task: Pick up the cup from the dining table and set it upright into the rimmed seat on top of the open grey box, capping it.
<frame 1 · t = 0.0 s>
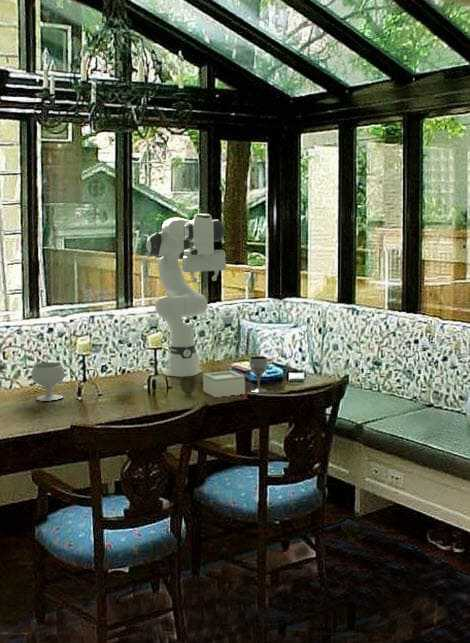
hand: (204, 281, 398), 48 cm above the table, fingers open, 8 cm apart
open grey box: (224, 392, 392), on the table
cup: (188, 396, 387), on the table
wine glass: (258, 391, 394), on the table
chalice: (49, 399, 386), on the table
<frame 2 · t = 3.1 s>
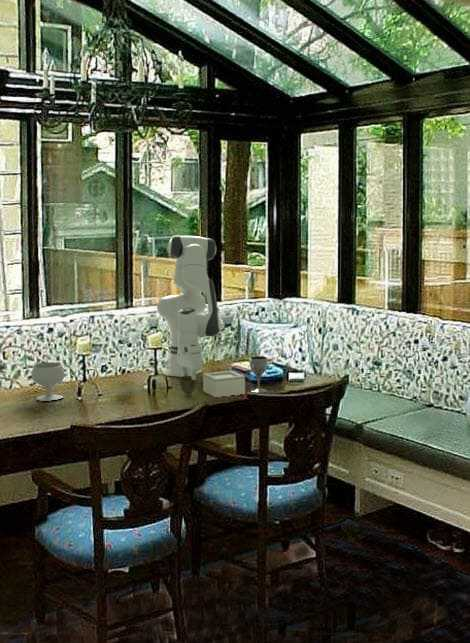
hand: (189, 377, 386), 8 cm above the table, fingers open, 8 cm apart
cup: (188, 396, 387), on the table, touching gripper
everything else where it was.
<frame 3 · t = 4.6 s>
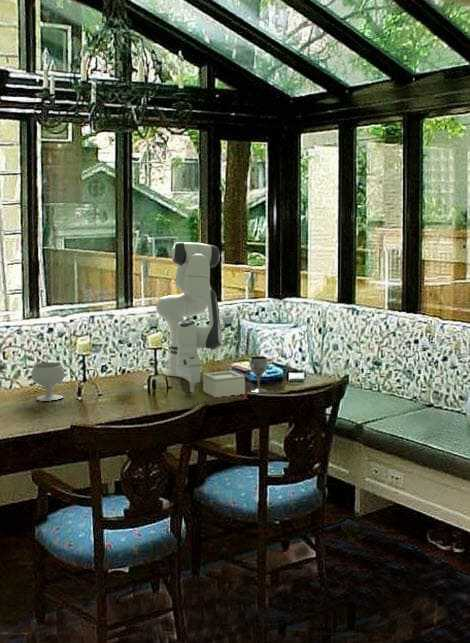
hand: (188, 389, 387), 3 cm above the table, fingers closed on cup, 7 cm apart
cup: (188, 396, 387), on the table, touching gripper
everything else where it was.
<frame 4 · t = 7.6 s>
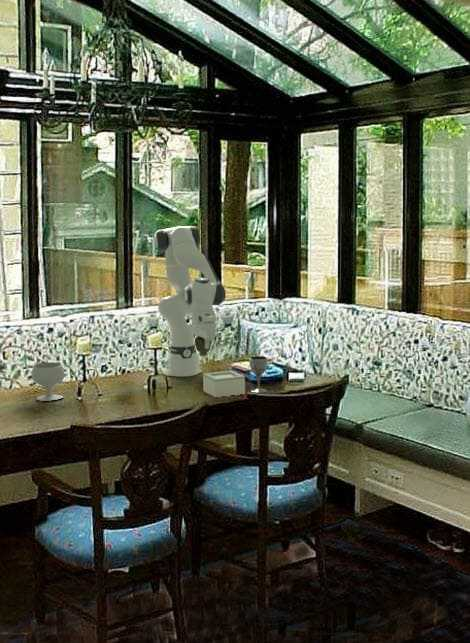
hand: (203, 347, 386), 21 cm above the table, fingers closed on cup, 6 cm apart
cup: (203, 356, 387), point 17 cm above the table, touching gripper
everything else where it was.
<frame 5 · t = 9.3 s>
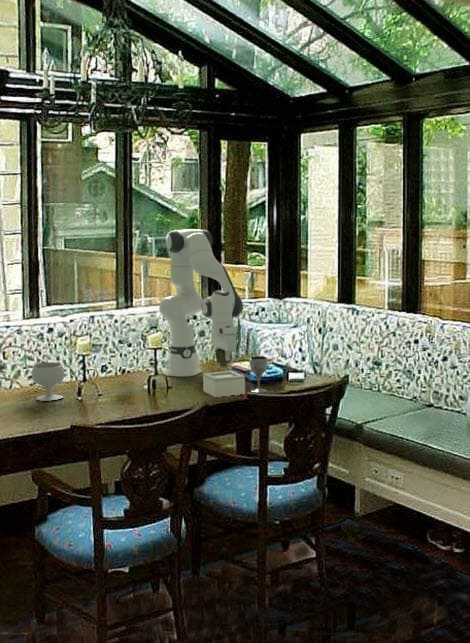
hand: (223, 359, 390), 15 cm above the table, fingers closed on cup, 7 cm apart
cup: (223, 367, 390), point 11 cm above the table, touching gripper
everything else where it was.
when the fingers open (12 cm above the table, at t = 10.9 s): cup drops 1 cm, resting on open grey box.
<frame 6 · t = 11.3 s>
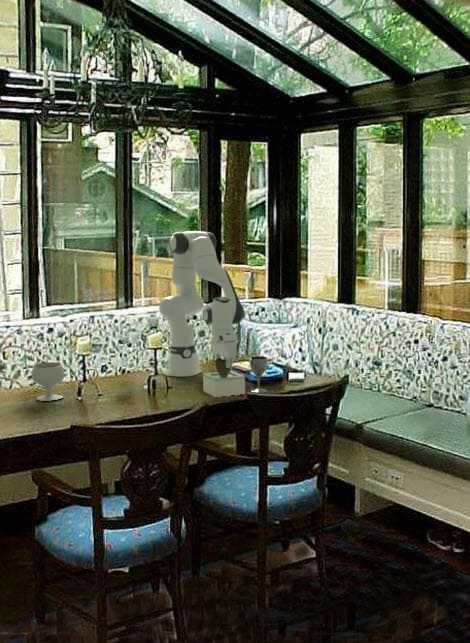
hand: (223, 365, 390), 12 cm above the table, fingers open, 8 cm apart
cup: (223, 377, 391), point 7 cm above the table, touching open grey box
everything else where it was.
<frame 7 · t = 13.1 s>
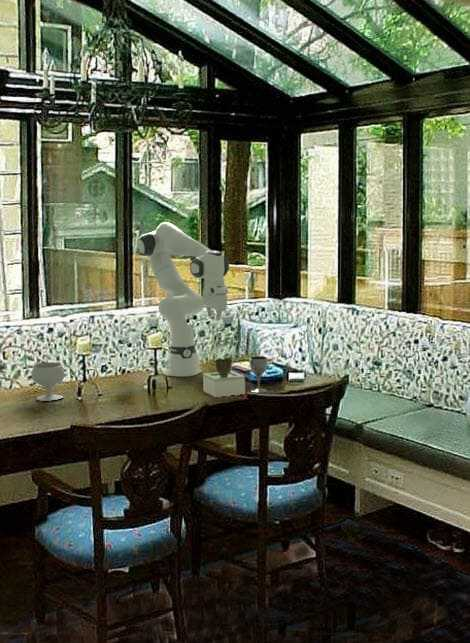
hand: (213, 318, 397), 32 cm above the table, fingers open, 8 cm apart
nothing on the table moved.
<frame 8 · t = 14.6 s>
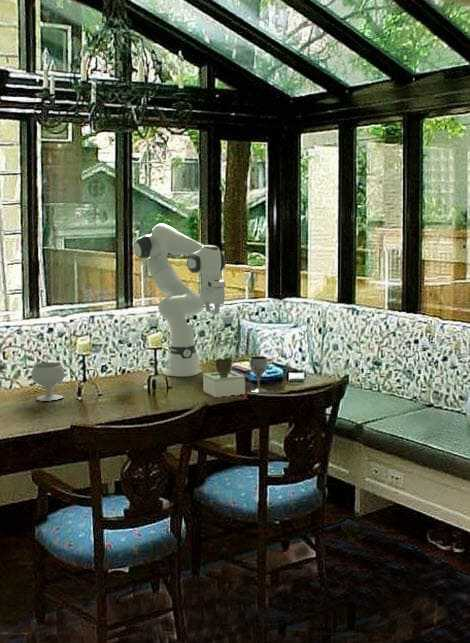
hand: (212, 312, 398), 34 cm above the table, fingers open, 8 cm apart
nothing on the table moved.
at the end: cup 0.1 cm off-centre on the open grey box, point 6.8 cm above the open grey box's base; cup tilted 0°; the gripper is holding nothing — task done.
